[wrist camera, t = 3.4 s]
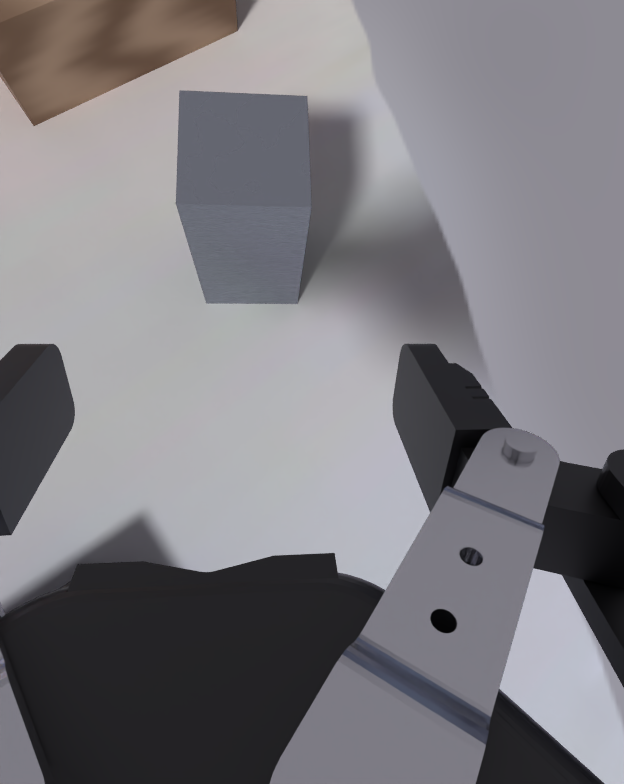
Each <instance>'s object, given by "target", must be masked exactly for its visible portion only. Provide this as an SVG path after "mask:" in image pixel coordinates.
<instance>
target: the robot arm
mask: <svg viewBox="0 0 624 784" xmlns="http://www.w3.org/2000/svg"><path fill="white" fill-rule="evenodd" d="M74 416H75V408H74V402H73V398H72V394H71V390H70V386H69V383H68V379H67V375H66V371H65V367H64V364H63V360H62V356H61V353H60V351H59V349H58V347H57V346H56V345H54V344H17V345H15V346H14V347H13V348H12V349H11V350H10V351H9V352H8V353H7V354H6V355H5V356H4V357H3V358H2V359H1V360H0V536H2V535H12V533H13V531H14V529H15V528H16V526H17V524H18V522H19V520H20V519H21V517H22V515H23V513H24V512H25V510H26V508H27V506H28V505H29V503H30V501H31V499H32V498H33V496H34V494H35V492H36V490H37V489H38V487H39V485H40V483H41V482H42V480H43V478H44V476H45V475H46V473H47V471H48V469H49V468H50V466H51V464H52V462H53V461H54V459H55V457H56V455H57V453H58V452H59V450H60V448H61V446H62V445H63V443H64V441H65V439H66V438H67V436H68V434H69V432H70V431H71V429H72V426H73V423H74ZM393 417H394V422H395V425H396V428H397V430H398V433H399V435H400V438H401V440H402V443H403V445H404V448H405V450H406V453H407V455H408V458H409V460H410V463H411V465H412V468H413V470H414V473H415V475H416V478H417V480H418V483H419V485H420V488H421V490H422V493H423V495H424V498H425V500H426V503H427V505H428V508H429V510H430V514H429V516H428V518H427V519H426V521H425V523H424V525H423V526H422V528H421V530H420V532H419V533H418V535H417V537H416V539H415V540H414V542H413V544H412V545H411V547H410V549H409V551H408V552H407V554H406V556H405V558H404V559H403V561H402V563H401V564H400V566H399V568H398V570H397V571H396V573H395V575H394V577H393V578H392V580H391V582H390V584H389V585H388V587H387V589H386V590H384V589H382V588H380V587H379V586H377V585H375V584H373V583H370V582H368V581H366V580H363V579H361V578H357V577H354V576H351V575H347V574H342V573H337V566H336V560H335V553H325V554H303V555H280V556H271V557H267V558H263V559H260V560H256V561H252V562H248V563H244V564H241V565H237V566H233V567H229V568H225V569H222V570H218V571H214V572H198V571H193V570H187V569H182V568H176V567H171V566H165V565H160V564H154V563H149V562H120V563H98V564H78V565H77V567H76V570H75V572H74V575H73V578H72V580H71V583H70V585H69V586H68V587H65V588H61V589H58V590H55V591H53V592H50V593H47V594H44V595H42V596H40V597H38V598H35V599H33V600H31V601H29V602H27V603H25V604H23V605H21V606H19V607H18V608H16V609H14V610H12V611H10V612H9V613H7V614H6V615H5V613H4V610H3V608H2V605H1V603H0V784H604V783H603V782H602V781H601V780H600V779H599V778H598V777H597V776H595V775H594V774H593V773H592V772H591V771H590V770H589V769H588V768H587V767H585V766H584V765H583V764H582V763H581V762H580V761H579V760H578V759H577V758H575V757H574V756H573V755H572V754H571V753H570V752H569V751H568V750H567V749H565V748H564V747H563V746H562V745H561V744H560V743H559V742H558V741H557V740H555V739H554V738H553V737H552V736H551V735H550V734H549V733H548V732H547V731H545V730H544V729H543V728H542V727H541V726H540V725H539V724H538V723H537V722H535V721H534V720H533V719H532V718H531V717H530V716H529V715H528V714H527V713H525V712H524V711H523V710H522V709H521V708H520V707H519V706H518V705H517V704H516V703H514V702H513V701H512V700H511V699H510V698H509V697H508V696H507V695H506V694H504V693H503V692H502V691H501V690H500V689H499V687H500V683H501V680H502V676H503V673H504V669H505V666H506V662H507V659H508V655H509V651H510V648H511V644H512V641H513V637H514V634H515V630H516V627H517V623H518V620H519V616H520V613H521V609H522V606H523V602H524V599H525V595H526V591H527V588H528V584H529V581H530V577H531V574H532V570H533V568H535V569H540V570H544V571H548V572H553V573H557V574H561V575H562V576H563V578H564V580H565V582H566V583H567V585H568V587H569V589H570V591H571V592H572V594H573V596H574V598H575V600H576V602H577V603H578V605H579V607H580V609H581V611H582V612H583V614H584V616H585V618H586V620H587V622H588V623H589V625H590V627H591V629H592V631H593V633H594V634H595V636H596V638H597V640H598V642H599V643H600V645H601V647H602V649H603V651H604V653H605V654H606V656H607V658H608V660H609V661H610V663H611V665H612V667H613V669H614V671H615V672H616V674H617V676H618V678H619V680H620V682H621V683H622V685H623V687H624V450H618V451H615V452H613V453H611V454H610V455H609V456H608V458H607V460H606V463H605V465H604V467H603V469H598V468H592V467H587V466H582V465H577V464H571V463H566V462H562V461H560V459H559V455H558V453H557V451H556V450H555V449H554V448H553V447H552V446H551V445H550V444H549V443H548V442H547V441H545V440H543V439H542V438H540V437H539V436H536V435H534V434H532V433H529V432H527V431H523V430H519V429H514V428H512V427H511V425H510V424H509V423H508V421H507V420H506V419H505V417H504V416H503V415H502V413H501V412H500V411H499V409H498V408H497V407H496V405H495V404H494V402H493V401H492V400H491V399H489V396H488V394H487V393H486V392H485V390H484V389H481V385H480V384H479V382H478V381H477V380H476V378H475V377H474V376H473V374H472V373H470V372H469V371H467V370H465V369H464V368H462V367H461V366H459V365H458V364H456V363H448V361H447V360H446V358H445V357H444V356H443V354H442V353H441V351H440V350H439V348H438V347H437V345H435V344H404V345H403V346H402V349H401V352H400V357H399V364H398V370H397V377H396V383H395V390H394V396H393Z"/></svg>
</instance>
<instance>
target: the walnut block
mask: <svg viewBox="0 0 624 784" xmlns="http://www.w3.org/2000/svg"><path fill="white" fill-rule="evenodd" d="M236 31H237V15H236V0H0V77H1V78H2V80H3V81H4V83H5V84H6V86H7V87H8V89H9V90H10V92H11V93H12V95H13V96H14V97H15V99H16V100H17V102H18V103H19V105H20V106H21V108H22V109H23V111H24V112H25V114H26V115H27V117H28V118H29V119H30V121H31V122H32V124H33V125H34V126H35V125H37V124H39V123H42V122H44V121H46V120H48V119H50V118H52V117H54V116H57V115H59V114H61V113H63V112H65V111H67V110H69V109H72V108H74V107H76V106H78V105H80V104H82V103H84V102H87V101H89V100H91V99H93V98H95V97H97V96H99V95H102V94H104V93H106V92H108V91H110V90H112V89H114V88H117V87H119V86H121V85H123V84H125V83H127V82H129V81H132V80H134V79H136V78H138V77H140V76H142V75H144V74H147V73H149V72H151V71H153V70H155V69H157V68H159V67H162V66H164V65H166V64H168V63H170V62H172V61H174V60H177V59H179V58H181V57H183V56H185V55H187V54H189V53H192V52H194V51H196V50H198V49H200V48H202V47H204V46H206V45H209V44H211V43H213V42H215V41H217V40H219V39H221V38H224V37H226V36H228V35H230V34H232V33H234V32H236Z"/></svg>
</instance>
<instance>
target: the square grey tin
mask: <svg viewBox="0 0 624 784" xmlns="http://www.w3.org/2000/svg"><path fill="white" fill-rule="evenodd" d="M176 206H177V209H178V212H179V216H180V219H181V222H182V225H183V229H184V232H185V235H186V238H187V242H188V245H189V248H190V251H191V255H192V258H193V261H194V264H195V268H196V271H197V274H198V278H199V281H200V284H201V287H202V291H203V294H204V297H205V300H206V303H242V304H297V303H298V296H299V289H300V282H301V276H302V269H303V262H304V255H305V249H306V242H307V235H308V228H309V222H310V215H311V208H312V204H311V179H310V153H309V128H308V103H307V96H292V95H270V94H247V93H225V92H202V91H180V93H179V125H178V156H177V188H176Z"/></svg>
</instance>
